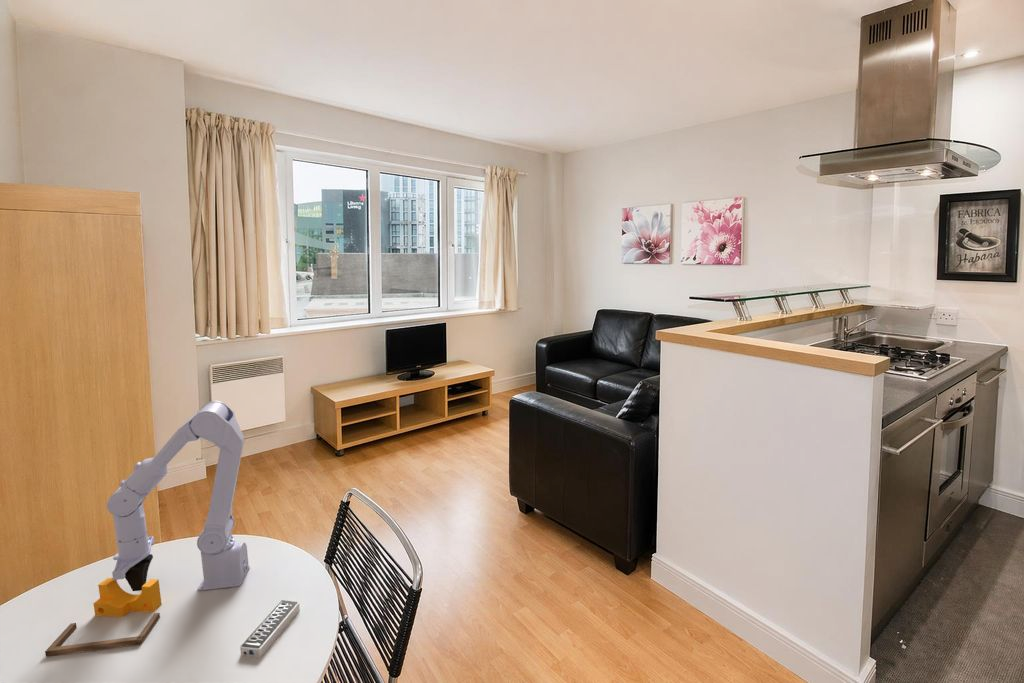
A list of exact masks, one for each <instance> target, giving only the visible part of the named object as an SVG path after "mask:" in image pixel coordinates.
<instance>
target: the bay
mask: <svg viewBox="0 0 1024 683" xmlns="http://www.w3.org/2000/svg"><path fill="white" fill-rule="evenodd" d="M160 618H161V613H160V612H153V615H152V616H151V617H150V619H149V620H148V622H147V623H146V624H145V626H144V627H143V629H142V630H141V631H140V633H139V634H138V635H137V636H129V637H122V638H115V639H105V640H97V641H90V642H89V641H88V642H84V643H75V644H69V645H66V644H65V645H63V644H64V643H65V642H66V641H67V640H68V639H69V637H70V636H71V635H72V634H73V633H75V630H77V623H76V622H73V623H70V624H69V625H67V627H66V628H65V629H64V630H63V631H62V632H61V633H60V635H58V637H57V638H56V639H55V640H54V641H53V642H52V643H51V645H50V646H49V647H48V648H47V649H45V651H44V653H45V658H47V657H48V658H49V657H53V656H56V657H57V656H62V655H63V656H64V655H70V654H77V653H78V654H80V653H86V652H93V651H100V650H101V651H102V650H108V649H116V648H124V647H132V646H138V645H143V643H144V642H145V640H146V639H147V637H148V636H149V635H150V633H151V632H152V630H153V629H154V627H155V626H156V624H157V623H158V622H159V619H160Z"/></svg>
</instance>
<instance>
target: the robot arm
mask: <svg viewBox="0 0 1024 683" xmlns="http://www.w3.org/2000/svg"><path fill="white" fill-rule="evenodd" d="M200 438H201V439H204V440H205V441H208V442H210V443H212V444H214V445H215V446H217V448H218V449H219V452H218V453H219V454H218V459H217V464H216V469H215V475H214V480H213V486H212V492H211V495H210V496H211V498H210V503H209V509H208V513H207V516H206V519H205V523H204V527H203V528H202V530H201V532H200V534H199V536H198V537H197V540H196V547H197V549H198V550H199V551H200V557H201V565H202V566H201V568H202V575H203V579H202V581H201V582H200V584H199V586H198V587H197V591H199V592H201V591H209V590H219V589H226V588H233V587H234V588H235V587H240V586H241V585H242V583H243V582H244V580H245V578H246V576H247V574H248V572H249V570H250V565H249V557H248V546H247V544H246V542H243V541H242V542H240V541H236V540H235V538H234V536H233V534H231V533H232V531H233V529H234V527H235V518H234V516H233V511H234V508H233V503H234V497H235V493H236V492H235V491H236V487H237V481H238V476H239V471H240V464H241V459H242V454H243V449H244V445H245V444H244V443H245V437H244V434H243V431H242V429H241V428H240V425H239V423H238V421H237V419H236V415H235V411H234V410H233V409H232V408H231V407H229V406H228V405H227V404H226V403H224V402H223V401H219V400H213V401H212V400H211V401H209V402H207V403H205V404H204V405H203V406H202V407H201V409H200V410H199V411H197V412H195V413H194V414H193V415H192V416H190V418H188V419H187V420H186V421H185V422H184V423H183V424H181V426H180V427H179V428H178V429H177V430H176V431H175V432H174V433H173V434H172V436H171V437H170V438H169V439H168V441H167V442H166V443H165V444H164V445H163V447H161V449H160V450H159V452H157V454H156V455H155V456H154V457H149V458H145V459H143V460H142V461H138V462H136V463H135V465H134V466H133V467H132V468H133V469H134V471H132V472H131V473H130V475H129V476H128V477H127V478H126V479H122V481H121V482H120V483H118V484H119V487H118V489H116V491H115V492H114V493H111V495H110V496H109V498H108V500H107V502H106V508H107V511H108V512H109V514H111V515H112V519H113V524H114V526H113V527H114V532H115V542H116V547H117V553H116V554H115V555H113V557H112V559H113V560H114V561H116V563H115V567H114V569H113V571H112V572H111V574H112V575H111V576H112V578H113V580H117V581H119V580H126V581H127V583H128V585H129V587H130V589H131V591H132V592H141V591H142V586H143V585H144V584H145V583H146V582H147V578H148V571H149V568H150V566H151V565H150V564H151V562H152V561H153V558H154V555H153V554H152V553H151V551H152V546H154V545H155V536H154V535H153V536H148V530H147V522H146V514H145V509H144V503H143V502H144V501H145V500H146V498H147V496H149V494H151V492H152V491H153V490H154V489H155V488H156V486H158V485H159V484H160V482H161V481H162V480H163V479H164V477H166V475H167V474H168V466H167V465H168V464H169V463H170V462H171V461H172V460H173V459H174V457H176V455H177V454H178V453H179V452H180V451H181V450H182V449H183V448H184V447H185V446H186V445H187V443H189V442H197V441H198V440H199V439H200Z"/></svg>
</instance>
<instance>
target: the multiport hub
mask: <svg viewBox="0 0 1024 683" xmlns="http://www.w3.org/2000/svg"><path fill="white" fill-rule="evenodd" d="M300 610H301V609H300V601H297V600H296V601H295V600H285V599H282V600H280V601H279V602H278V603H277V605H276V606H275V607H274V608H273V609H272V610H271V611H270V612H269V613H268V614H267V616H266V617H264V618H263V620H262V622H260V624H258V626H257V627H256V628H255V629H254V630H253V631H252V632H251V634H249V636H248V637H246V639H245V640H244V641H243V643H241V645H240V646H239V651H240V656H241V657H248V658H255V659H260V658H261V657H263V655H264V654H265V653H266V652H267V651H268V650H269V649H270V647H271V646H272V645H273V643H274V642H275V641H276V640H277V638H278V637H279V636H280V635H281V634H282V633H283V631H284V630H285V629H286V628H287V626H288V625H289V624H290V623H291V621H292V620H293V619H294V618H295V617H296V615H297V614H298V613H299V612H300Z"/></svg>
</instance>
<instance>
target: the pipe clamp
mask: <svg viewBox="0 0 1024 683" xmlns="http://www.w3.org/2000/svg"><path fill="white" fill-rule="evenodd" d="M97 586H98V593H99V594H98V595H99V598H98V599H96V600H95V601H94V602H93V604H92V605H93V609H94V615H95V617H96V616H97V617H122V618H124V617H125V615H127V614H128V613H129V612H140V613H141V612H142V613H155V611H157V610H158V608H159V607H161V606H162V597H161V596H162V595H161V588H160V580H159V579H155V578H154V579H153V578H150V579H149V580H148V581H146V583H145V584H144V585H143V586H142V590H141V591H140V594H133V593H129V592H127V591H125V590H123V588H122V587H121V586H120V585H119V583H118V580H113V577H106V578H105V579H104V580H103V581H101V582H100V583H99V584H98V585H97Z"/></svg>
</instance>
